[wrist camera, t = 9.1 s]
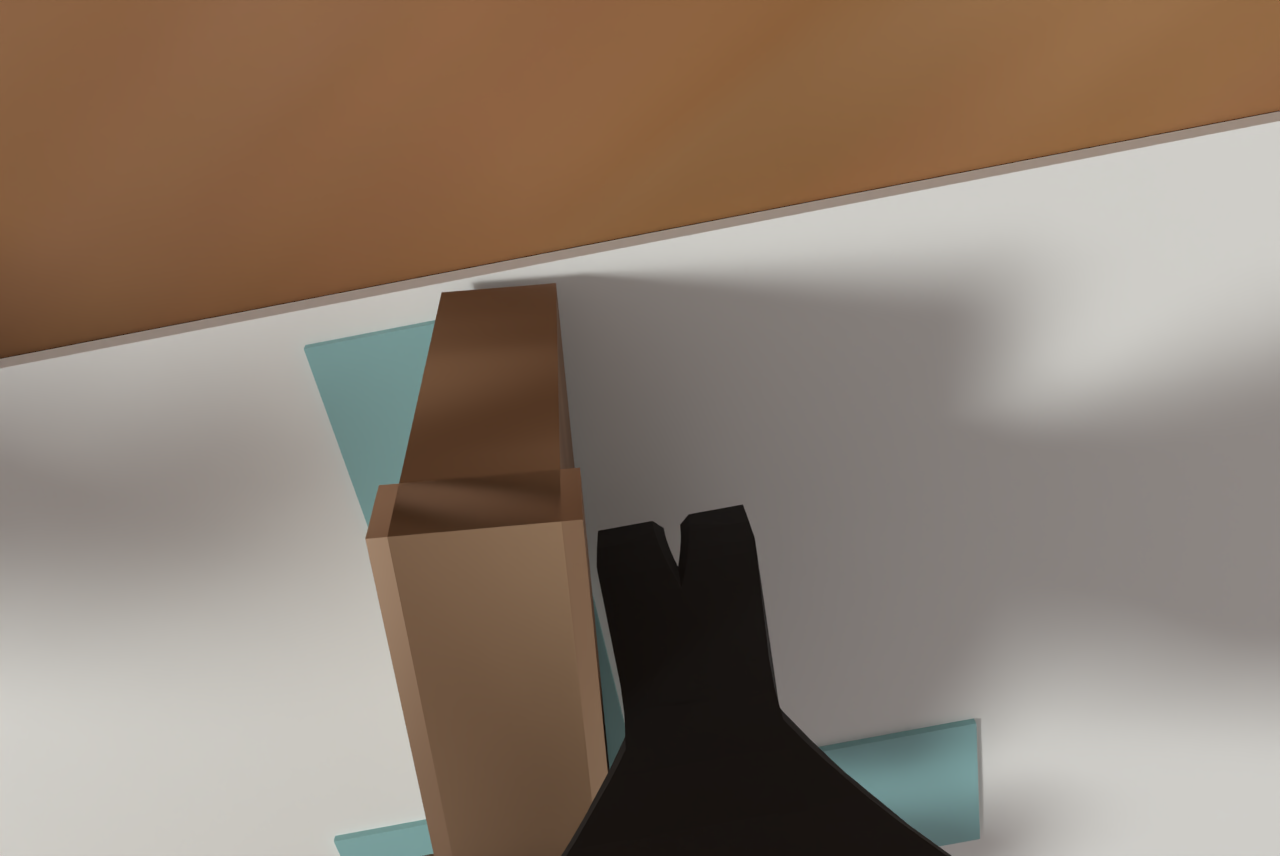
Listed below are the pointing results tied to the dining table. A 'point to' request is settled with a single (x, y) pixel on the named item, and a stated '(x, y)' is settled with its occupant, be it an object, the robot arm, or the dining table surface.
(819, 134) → the dining table surface
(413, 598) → the fence panel
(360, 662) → the card
